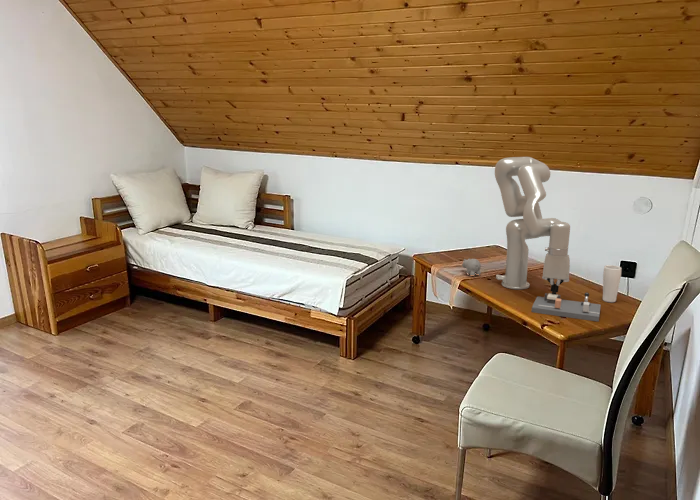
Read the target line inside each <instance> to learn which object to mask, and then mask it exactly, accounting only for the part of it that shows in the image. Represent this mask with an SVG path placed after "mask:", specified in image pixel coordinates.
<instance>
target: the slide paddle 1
mask: <svg viewBox="0 0 700 500" xmlns="http://www.w3.org/2000/svg"><path fill="white" fill-rule="evenodd" d="M561 299H562V298H560V299H558V297H557V298H556V300H555V308H560V307H561Z"/></svg>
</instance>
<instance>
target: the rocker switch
mask: <svg viewBox="0 0 700 500" xmlns="http://www.w3.org/2000/svg"><path fill="white" fill-rule="evenodd" d="M558 295H559V294H558V293H556V295H555V294H552V292H548V293H547V299H553V300H556V298H558Z"/></svg>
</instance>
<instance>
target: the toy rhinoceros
mask: <svg viewBox="0 0 700 500" xmlns="http://www.w3.org/2000/svg"><path fill="white" fill-rule="evenodd" d="M461 266H462V268H464V269H466V272H465V274H466V273H468V274H470V275H475V276H476V274H479V276H481V275H480V274H482V272H481V268H482V267H481V262H480V261H479V260H478V259H477V258H470V257H469V258H468V259H465V258H464V259H463V262H462V265H461ZM475 273H476V274H475ZM470 275H469V276H470Z"/></svg>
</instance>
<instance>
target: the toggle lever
mask: <svg viewBox="0 0 700 500" xmlns="http://www.w3.org/2000/svg"><path fill="white" fill-rule="evenodd" d="M589 296H590V293H589V292H585V293H584V302H589Z"/></svg>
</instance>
